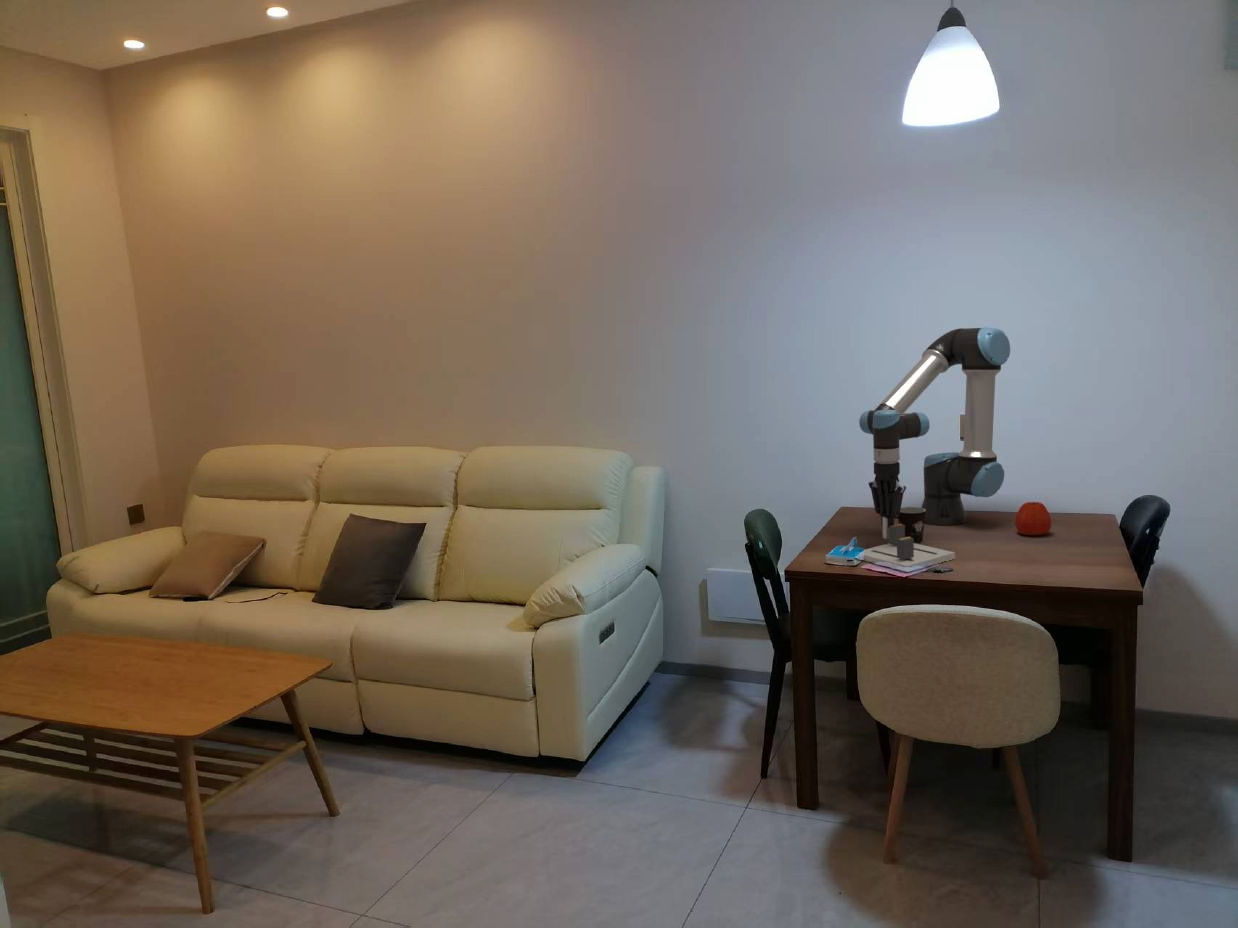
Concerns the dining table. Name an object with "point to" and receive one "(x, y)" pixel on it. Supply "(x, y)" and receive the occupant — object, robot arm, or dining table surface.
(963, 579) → the dining table surface
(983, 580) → the dining table surface
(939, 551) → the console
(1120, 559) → the dining table surface
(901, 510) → the coffee mug
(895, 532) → the block
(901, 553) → the block
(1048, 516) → the apple
